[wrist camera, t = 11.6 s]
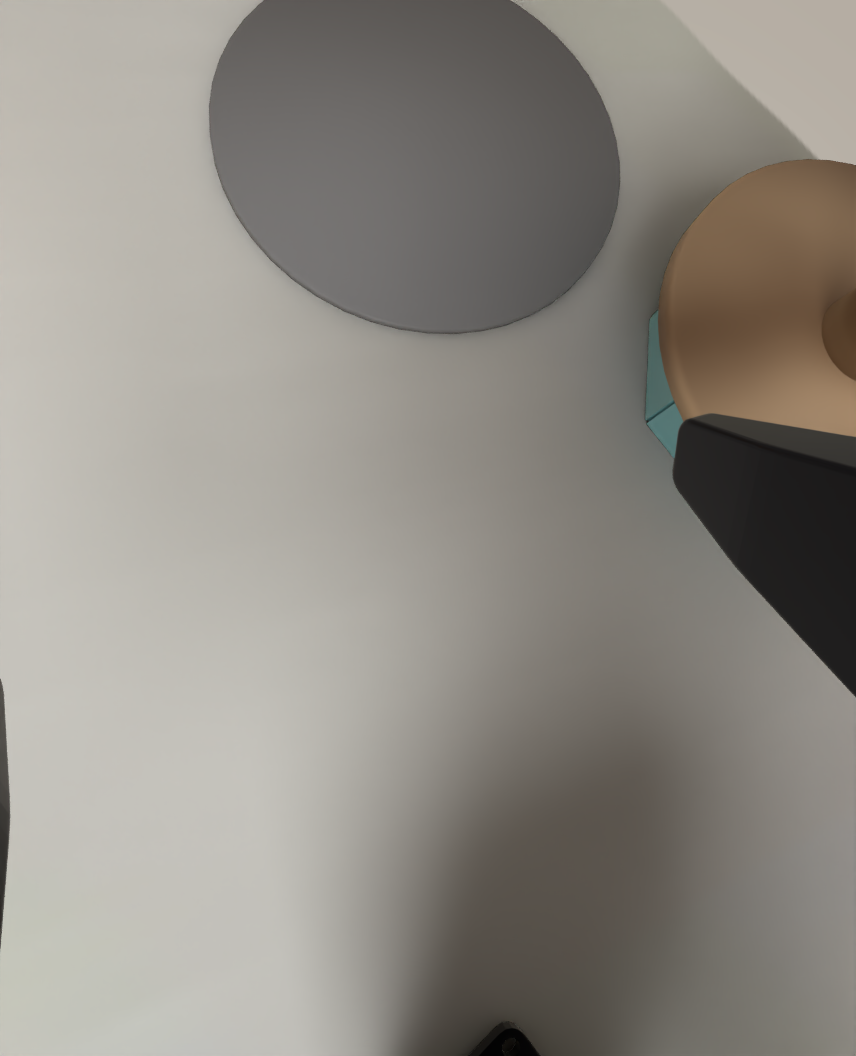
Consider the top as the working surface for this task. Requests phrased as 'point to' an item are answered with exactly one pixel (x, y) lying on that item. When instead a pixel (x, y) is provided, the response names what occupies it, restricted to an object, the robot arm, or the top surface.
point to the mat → (415, 157)
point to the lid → (767, 301)
